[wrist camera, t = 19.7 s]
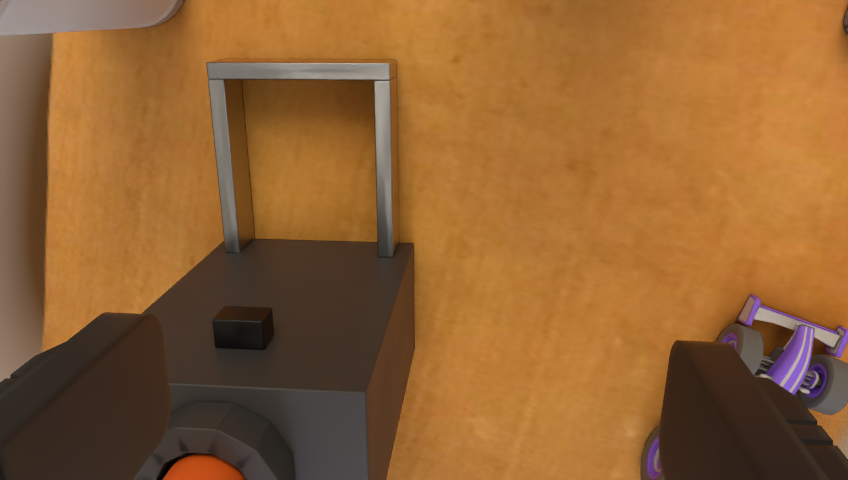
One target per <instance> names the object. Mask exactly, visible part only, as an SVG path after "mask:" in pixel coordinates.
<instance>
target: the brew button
mask: <svg viewBox="0 0 848 480" xmlns="http://www.w3.org/2000/svg"><path fill="white" fill-rule="evenodd" d="M163 480H246V479H245V478H244V476H243V475H242V473H241V472H240V471H239V470H238V469H237V468H236V467H235V466H233V465H232V464H230V463H228V462H226V461H224V460H222V459H220V458H219V457H216V456H213V455H208V454H194V455H190V456H186V457H184V458H182V459H180V460H178V461H177V462H176V463H175V464H174V465H173V466H172V467H171V468H170V470H169V471H168V473H167V474H166V475H165V477H164V478H163Z"/></svg>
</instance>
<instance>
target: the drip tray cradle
mask: <svg viewBox="0 0 848 480" xmlns="http://www.w3.org/2000/svg"><path fill="white" fill-rule="evenodd" d="M207 73H208V79H209V80H208V84H209V94H210V104H211V114H212V123H213V133H214V143H215V153H216V163H217V172H218V182H219V192H220V202H221V212H222V222H223V231H224V241H225V251H226V252H229V253H240V252H241V251H242V250H243V249H244V248H245V247H246V246H247V245H248V244H250V243H251V242H252V241H253V240H254V239H255V234H254V222H253V211H252V199H251V187H250V176H249V164H248V153H247V141H246V130H245V118H244V106H243V95H242V83H241V80H375V81H374V115H375V155H376V195H377V235H378V257H393V256H394V254H395V251H396V249H397V246H398V243H399V197H398V127H397V77H396V75H397V61H396V60H395V59H221V60H216V61H211V62H207ZM212 324H213V333H214V342H215V347H216V348H232V349H255V350H264V349H265V348H266V347H267V345H268V344H269V342H270V340H271V339H272V337H273V336H274V324H273V312H272V308H271V307H246V306H224V307H223V308H222V309H221V310H220V311H219V312H218V313H217V315H216V316H215V317H214V318H213V319H212Z"/></svg>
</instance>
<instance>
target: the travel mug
mask: <svg viewBox="0 0 848 480" xmlns="http://www.w3.org/2000/svg"><path fill="white" fill-rule="evenodd" d="M183 1H184V0H0V36H5V35H21V34H22V35H23V34H40V33H57V32H74V31H92V30H109V29H126V28H143V27H152V26H157V25H159V24H162V23H164V22H166V21H167V20H169V19H170V18H172V17H173V16H174V15H175V13H176V12H177V11H178V10H179V8H180V7H181V5H182V3H183Z"/></svg>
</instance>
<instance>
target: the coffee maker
mask: <svg viewBox="0 0 848 480" xmlns="http://www.w3.org/2000/svg"><path fill="white" fill-rule="evenodd" d="M224 306H246V307H271V308H272V312H273V324H274V336H273V337H272V339H271V340H270V342H269V344H268V345H267V347H266V348H265V349H264V350H255V349H232V348H216V347H215V342H214V333H213V324H212V319H213V318H214V317H215V316H216V315H217V313H218V312H219V311H220V310H221V309H222V308H223V307H224ZM142 314H151V315H154V316H155V317H156V318H157V319H158V321H159V323H160V326H161V330H162V336H163V344H164V352H165V360H166V367H167V375H168V383H169V391H170V398H171V413H170V420H169V424H168V427H167V430H166V433H165V435H164V437H163V439H162V441H161V442H160V444H159V445H158V446H157V448H156V449H155V450H154V452H153V453H152V454H151V455H150V457H149V458H148V459H147V461H146V462H145V463H144V465H143V466H142V467H141V469H140V470H139V471H138V473H137V474H136V475H135V477H134V478H133V479H132V480H163V478H164V477H165V475H166V474H167V473H168V471H169V470H170V468H171V467H172V466H173V465H174V464H175V463H176V462H177V461H178V460H180V459H182V458H184V457H186V456H190V455H194V454H208V455H213V456H216V457H219V458H220V459H222V460H224V461H226V462H228V463H230V464H232V465H233V466H235V467H236V468H237V469H238V470H239V471H240V472H241V473H242V475H243V476H244V478H245V479H246V480H386V477H387V472H388V468H389V463H390V459H391V454H392V449H393V445H394V440H395V436H396V431H397V427H398V422H399V417H400V413H401V408H402V404H403V399H404V395H405V390H406V385H407V381H408V376H409V372H410V367H411V363H412V358H413V353H414V349H415V334H414V244H413V243H398V246H397V249H396V251H395V254H394V256H393V257H378V242H350V241H314V240H278V239H254V240H253V241H252V242H251V243H250V244H248V245H247V246H246V247H245V248H244V249H243V250H242V251H241V252H240V253H229V252H226V251H225V241H224V242H222V243H221V244H220V245H219V246H218V247H217V248H216V249H214V250H213V251H212V252H211V253H210V254H209V255H208V256H206V257H205V258H204V259H203V260H202V261H201V262H200V263H198V264H197V265H196V266H195V267H194V268H193V269H192V270H191V271H189V272H188V273H187V274H186V275H185V276H184V277H183V278H181V279H180V280H179V281H178V282H177V283H176V284H175V285H173V286H172V287H171V288H170V289H169V290H168V291H167V292H166V293H164V294H163V295H162V296H161V297H160V298H159V299H158V300H156V301H155V302H154V303H153V304H152V305H151V306H150V307H148V308H147V309H146V310H145V311H144V312H143V313H142Z"/></svg>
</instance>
